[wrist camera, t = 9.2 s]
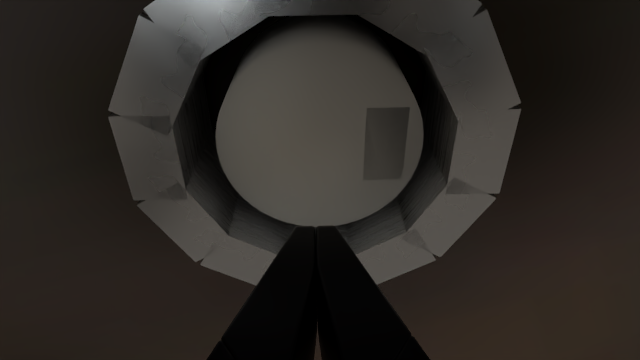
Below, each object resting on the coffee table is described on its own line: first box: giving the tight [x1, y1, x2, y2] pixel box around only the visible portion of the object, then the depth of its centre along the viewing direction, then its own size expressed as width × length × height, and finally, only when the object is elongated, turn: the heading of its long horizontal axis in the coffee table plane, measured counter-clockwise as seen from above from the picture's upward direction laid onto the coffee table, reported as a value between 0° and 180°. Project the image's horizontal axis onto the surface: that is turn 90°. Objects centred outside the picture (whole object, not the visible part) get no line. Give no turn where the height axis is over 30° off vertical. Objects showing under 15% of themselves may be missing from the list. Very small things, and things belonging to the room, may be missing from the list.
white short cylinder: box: [216, 15, 424, 227], centre depth 14 cm, size 6×6×4 cm
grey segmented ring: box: [108, 0, 521, 285], centre depth 14 cm, size 11×11×4 cm
